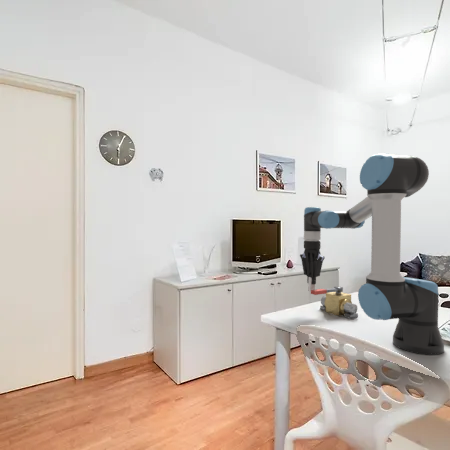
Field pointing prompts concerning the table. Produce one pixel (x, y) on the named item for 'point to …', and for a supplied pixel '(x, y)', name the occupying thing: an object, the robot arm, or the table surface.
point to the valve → (339, 304)
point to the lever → (326, 290)
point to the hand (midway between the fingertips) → (311, 290)
